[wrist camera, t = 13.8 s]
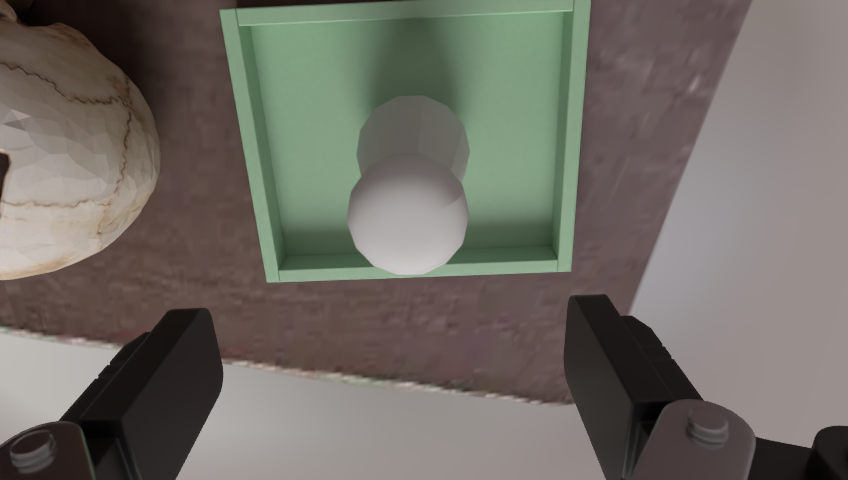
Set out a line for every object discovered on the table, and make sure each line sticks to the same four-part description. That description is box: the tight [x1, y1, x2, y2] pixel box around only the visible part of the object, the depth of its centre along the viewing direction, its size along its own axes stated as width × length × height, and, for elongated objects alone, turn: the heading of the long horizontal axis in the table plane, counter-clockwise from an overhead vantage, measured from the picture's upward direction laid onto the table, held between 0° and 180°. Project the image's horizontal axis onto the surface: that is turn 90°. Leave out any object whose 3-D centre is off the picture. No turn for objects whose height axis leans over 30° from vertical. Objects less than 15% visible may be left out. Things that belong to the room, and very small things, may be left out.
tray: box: [219, 0, 591, 282], centre depth 29 cm, size 18×15×3 cm
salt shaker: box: [347, 95, 470, 275], centre depth 24 cm, size 6×6×13 cm
